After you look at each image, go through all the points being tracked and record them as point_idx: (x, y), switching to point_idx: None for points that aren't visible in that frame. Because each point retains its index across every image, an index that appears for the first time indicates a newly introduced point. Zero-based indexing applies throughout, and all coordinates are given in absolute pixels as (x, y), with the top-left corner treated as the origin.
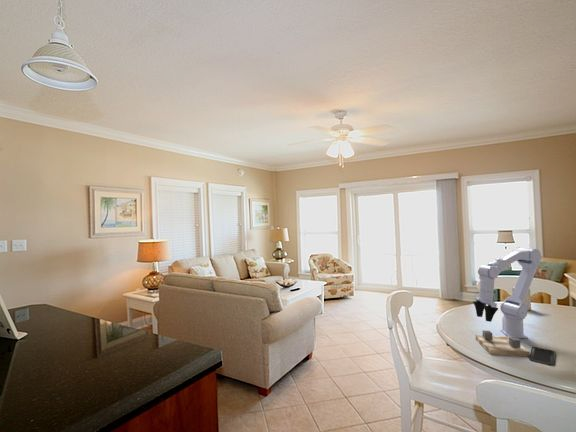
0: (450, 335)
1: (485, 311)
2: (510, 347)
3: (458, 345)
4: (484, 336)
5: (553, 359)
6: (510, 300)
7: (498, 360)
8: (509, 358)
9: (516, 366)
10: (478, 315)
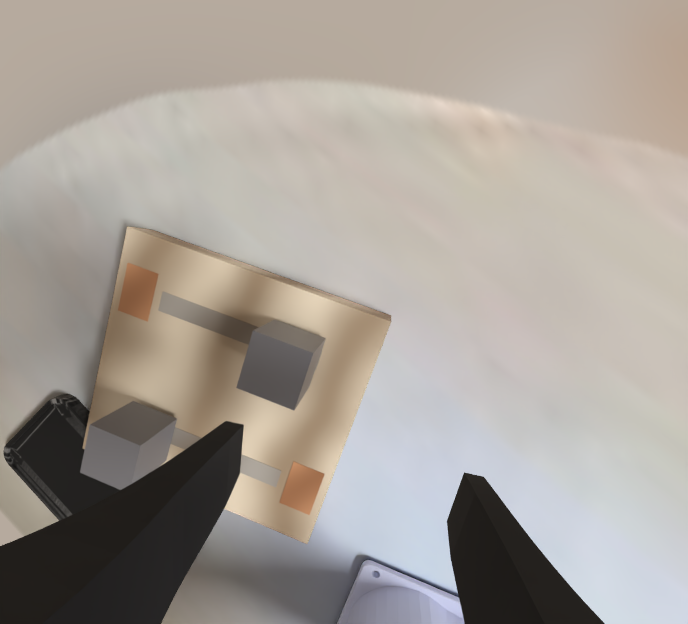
0: (517, 158)
1: (125, 526)
2: (145, 390)
3: (307, 95)
4: (282, 327)
5: (51, 503)
6: None
7: (70, 216)
8: (91, 302)
9: (4, 260)
10: (464, 495)
